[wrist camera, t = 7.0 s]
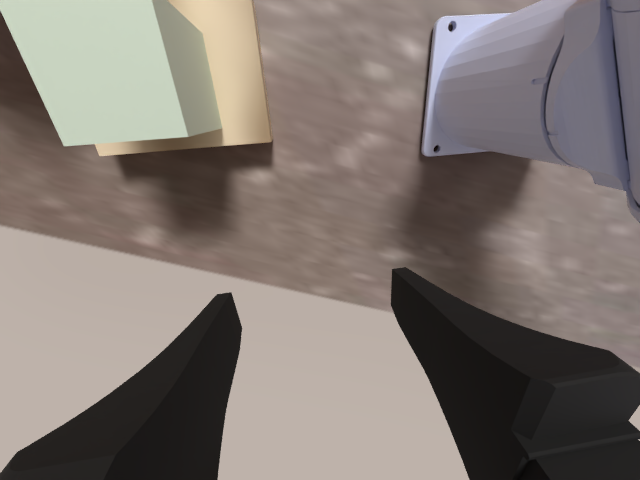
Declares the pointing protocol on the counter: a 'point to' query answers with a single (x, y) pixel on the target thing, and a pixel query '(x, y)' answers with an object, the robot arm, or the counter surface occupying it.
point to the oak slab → (221, 79)
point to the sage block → (115, 68)
